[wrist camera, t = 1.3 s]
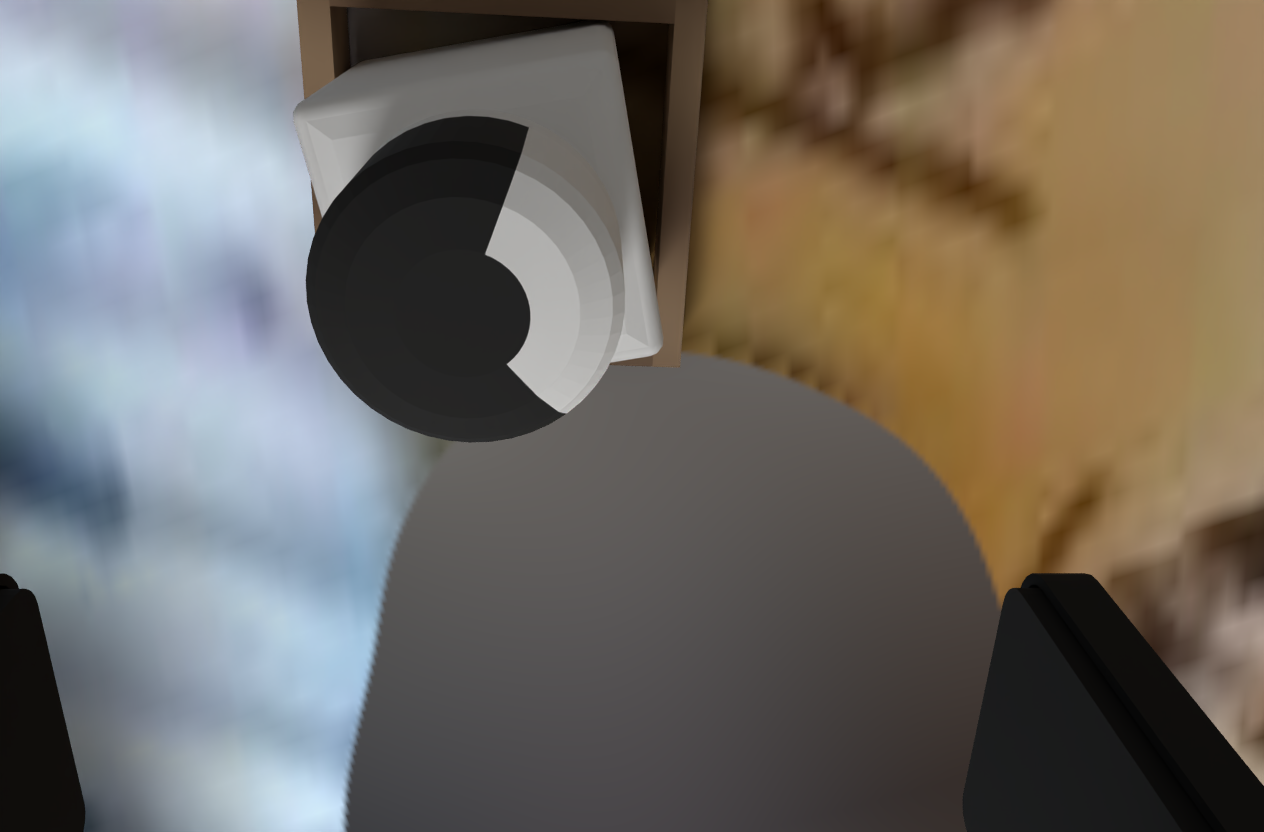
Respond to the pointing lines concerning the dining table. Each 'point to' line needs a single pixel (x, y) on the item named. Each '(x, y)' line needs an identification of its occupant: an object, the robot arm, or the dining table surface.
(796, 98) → the dining table surface
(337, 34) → the collar
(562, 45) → the medicine bottle
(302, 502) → the dining table surface
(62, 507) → the dining table surface
